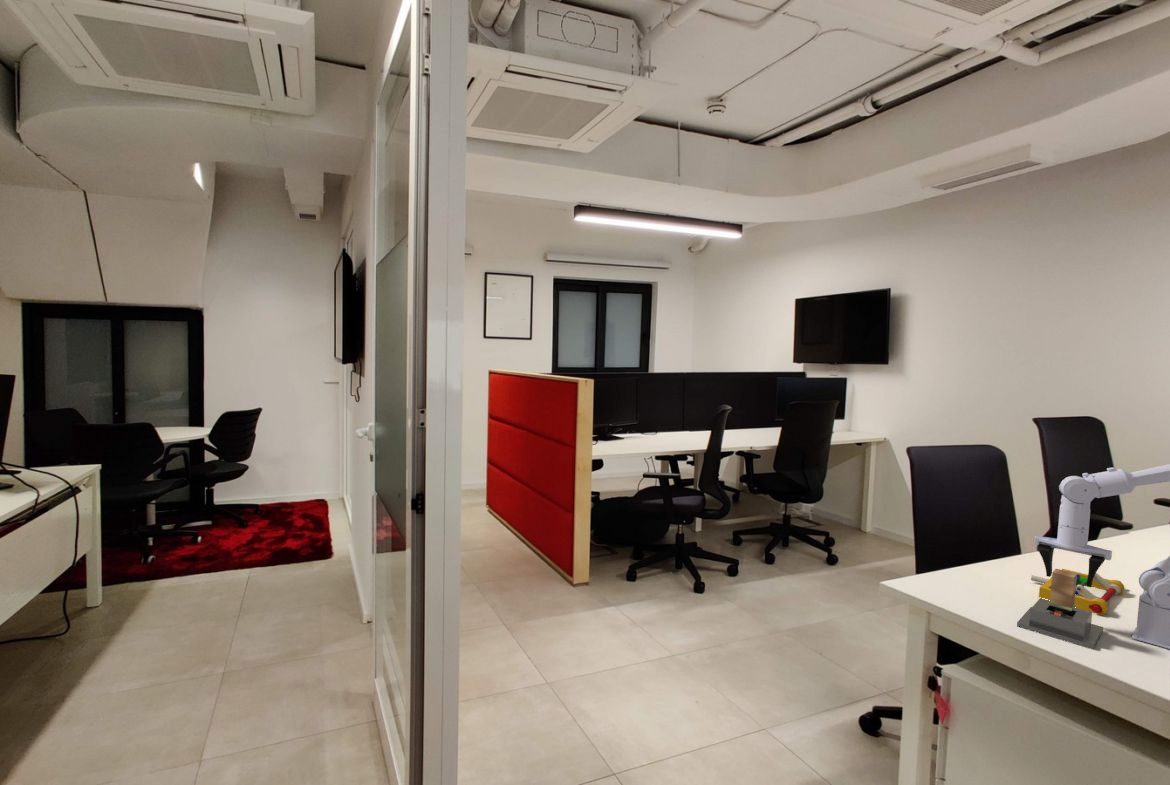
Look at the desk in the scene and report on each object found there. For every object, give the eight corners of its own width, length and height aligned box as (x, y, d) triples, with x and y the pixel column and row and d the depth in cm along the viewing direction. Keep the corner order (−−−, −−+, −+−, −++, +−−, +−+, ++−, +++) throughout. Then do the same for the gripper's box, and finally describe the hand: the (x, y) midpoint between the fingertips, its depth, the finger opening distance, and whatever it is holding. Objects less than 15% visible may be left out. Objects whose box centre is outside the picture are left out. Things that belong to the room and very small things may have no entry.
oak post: (1074, 606, 139) (1077, 573, 139) (1071, 611, 137) (1074, 577, 136) (1052, 600, 143) (1055, 568, 142) (1048, 604, 140) (1051, 572, 139)
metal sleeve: (1102, 631, 139) (1104, 610, 139) (1093, 649, 130) (1095, 627, 130) (1030, 610, 150) (1032, 591, 150) (1016, 626, 141) (1018, 605, 140)
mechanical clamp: (1128, 570, 166) (1106, 595, 147) (1126, 591, 166) (1104, 619, 147) (1048, 552, 180) (1019, 572, 161) (1046, 572, 180) (1017, 595, 161)
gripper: (1115, 530, 140) (1110, 585, 141) (1040, 516, 151) (1035, 568, 151) (1111, 535, 135) (1106, 593, 136) (1033, 521, 146) (1029, 574, 147)
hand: (1068, 580), depth 143 cm, fingers open, 7 cm apart
